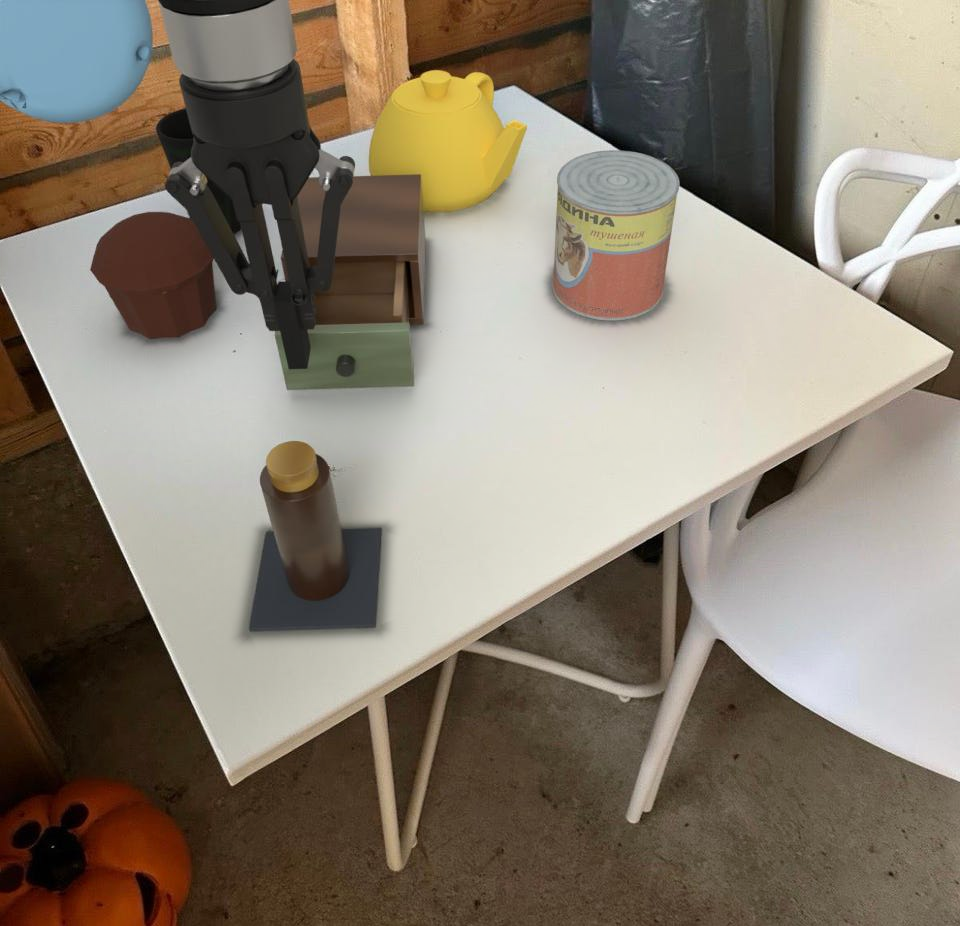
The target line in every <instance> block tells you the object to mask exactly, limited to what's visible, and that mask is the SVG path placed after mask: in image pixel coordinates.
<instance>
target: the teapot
mask: <svg viewBox="0 0 960 926" xmlns="http://www.w3.org/2000/svg"><path fill="white" fill-rule="evenodd" d="M494 86H495V85H494V82H493V80H492V77H490V75H488V74H486V73H483V72H480V71H474V72H471V73H468V75H466V76H465V78H462V77H458V76H452V75H451V74H450V72H448V71H445V70H439V69H433V70H429V71H425V72H423V73H422V74H421V75H420V77H416V78H413V79H410V80H408V81H405V82H403V83H402V84H400V85H399V86H398V87H397V88H395V90H394V91H393V92H392V93H391V95H390V96H389V97H388V100H387V101H386V103H385V105H384V107H383V109H382V111H381V112H380V114H379V117H378V119H377V121H376V122H375V125H374V128H373V131H372V135H371V138H370V143H369V149H368V150H369V151H368V172H369V176H379V175H413V174H421V182H422V195H423V210H424V212H430V213H445V212H447V213H448V212H455V211H460V210H465V209H467V208H471V207H474V206H476V205H479V204H480V203H482V202H484V201H485V200H487V199H488V198H489V197H491V196H492V195H493V194H494V193H495V192H496V191H497V190H498V189H499V188H500V187H501V186H502V184H503V183H504V182H505V181H506V179H507V178H510V176H511V174H512V171H513V168H514V165H515V162H516V160H517V157H518V154H519V152H520V149H521V146H522V144H523V141H524V138H525V135H526V132H527V129H528V125H527V124H525V123H522V122H520V121H517V120H515V119H513V120H511V121H509V122H508V123H506V124H503V122H502V120H501V118H500V117H499V115H498V113H497V112H496V110H495V109H494V107H493V106H494V98H495V87H494ZM504 125H505V127H504Z"/></svg>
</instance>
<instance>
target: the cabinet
mask: <svg viewBox="0 0 960 926" xmlns="http://www.w3.org/2000/svg"><path fill="white" fill-rule="evenodd" d="M324 197H325V190H323V188H322V187H321V186H320V184H319V176H317V177H316V176H315V177H314V176H313V177H310V176H309V178H308V180H307V181H306V183H305V185H304V186H303V188H302V189H301V191H300V193H299V194H298V206H299V211H300V217H301V222H302V227H303V233H304V238H305V243H306V249H307V254H308V259H309V264H317V255H318V246H319V237H320V227H321V218H322V209H323V203H324ZM426 245H427V241H426V224H425V211H424V210H423V195H422V182H421V174H413V175H379V176H371V175H354V177H353V184H352V186H351V188H350V190H349V191H348V193H347V195H346V197H345V198H344V200H343V202H342V204H341V212H340V220H339V228H338V236H337V244H336V252H335V261H334V263H364V262H398V261H407V265H408V276H409V288H410V309H409V325H410V326H412V325H414V326H415V325H424V319H425V318H424V316H425V283H426V282H425V280H426V249H427V248H426V247H427V246H426ZM280 261H281V265H282V271H283V275H284V281H289V278H288V273H287V268H286V263H285V259H284V254H283V249H282V250H281V255H280Z"/></svg>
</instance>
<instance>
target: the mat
mask: <svg viewBox="0 0 960 926" xmlns="http://www.w3.org/2000/svg"><path fill="white" fill-rule="evenodd" d="M341 530H342V535H343V540H344V546H345V551H346V556H347V561H348V566H349V579H348V582H347V584H346V585H345V587H344V588H343V589H342V590H341V591H340V592H339V593H338V594H336V595H335V596H333V597H331V598H328V599H325V600H321V601H308V600H304V599H301V598H299V597H298V596H296V595H295V594H294V593H293V592H292V591H291V590H290V588H289V585H288V582H287V578H286V575H285V571H284V568H283V564H282V560H281V557H280V553H279V550H278V546H277V542H276V539H275V535H274V532H273V530H272V531H265V534H264V541H263V546H262V551H261V558H260V563H259V569H258V573H257V579H256V586H255V592H254V596H253V603H252V608H251V614H250V619H249V626H248V631H249V632H279V631H310V630H311V631H312V630H314V631H315V630H339V629H340V630H341V629H342V630H345V629H347V630H348V629H374V628H376V626H377V625H376V624H377V611H378V608H377V607H378V596H379V595H378V593H379V580H380V579H379V578H380V577H379V576H380V563H381V548H382V547H381V546H382V532H383V531H382V527H375V528H370V527H369V528H341Z"/></svg>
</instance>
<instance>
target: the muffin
mask: <svg viewBox="0 0 960 926" xmlns="http://www.w3.org/2000/svg"><path fill="white" fill-rule="evenodd" d="M93 253H94V254H93V256H92V261H91V264H90V270H89V271H90V272H91V273H92V274H93V276H94V277H95V279H96V280H97V281H98V283H99V284H101V285H102V286H103V287H104V289H105V290H106V292H107V294H108V295H109V297H110V299H111V300H112V302H113V304H114V306H115V307H116V309H117V311H118V312H119V314H120V316H121V317H122V319H123V321H124V322H125V324H126V326H127V328H128V329H129V331H131V332H135V333H137V334H139V335H141V336H143V337H146V338H147V339H149V340H153V339H163V338H174V339H175V338H180V337H182V336H184V335H186V334H189V333H190V332H192V331H196V330H197V329H200V328H203V327H205V325H206V323H207V322H208V320H209V319H210V317H211V316H212V315H213V313H215V312H216V310H217V302H216V292H215V291H216V289H215V277H214V265H213V261H215V260H214V258H213V256H212V254H211V253H210V251H209V249H208V247H207V245H206V244H205V242H204V240H203V238H202V236H201V235H200V233H199V231H198V229H197V227H196V226H195V224H194V222H193V220H192V219H190V217H186V216H183V215H179V214H176V213H172V212H168V211H167V212H166V211H146V212H141V213H136V214H133V215H131V216H129V217H126V218H124V219H122V220H120V221H118V222H116V223H115V224H114V225H113V226H112V227H110V229H109V230H107V231H106V232H105V233H104V234H103V235H102V236H101V237H100V238H99V239H98V242H97V244H96V246H95V250H94V252H93Z"/></svg>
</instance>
